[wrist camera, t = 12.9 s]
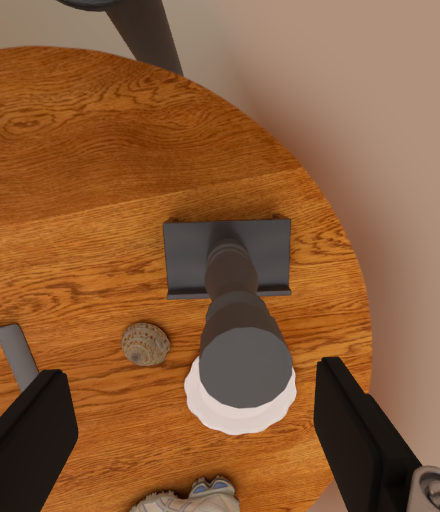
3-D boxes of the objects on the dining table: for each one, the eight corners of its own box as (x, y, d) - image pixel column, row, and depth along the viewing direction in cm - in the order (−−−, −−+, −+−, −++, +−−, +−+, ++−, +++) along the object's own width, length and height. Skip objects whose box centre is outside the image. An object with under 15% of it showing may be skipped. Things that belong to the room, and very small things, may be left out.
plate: (170, 408, 56) (168, 415, 54) (211, 319, 51) (210, 323, 50) (265, 440, 58) (266, 447, 57) (312, 358, 54) (315, 363, 52)
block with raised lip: (170, 217, 46) (160, 224, 38) (279, 213, 47) (293, 220, 38) (174, 280, 49) (166, 300, 41) (278, 276, 49) (291, 296, 41)
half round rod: (33, 413, 56) (27, 420, 54) (-5, 325, 51) (-13, 330, 49) (54, 409, 56) (49, 417, 54) (18, 321, 51) (11, 325, 49)
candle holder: (203, 276, 42) (188, 406, 18) (209, 235, 40) (200, 316, 16) (245, 281, 42) (286, 417, 18) (252, 240, 41) (307, 329, 16)
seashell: (173, 366, 51) (127, 380, 48) (166, 350, 56) (124, 362, 53) (169, 325, 49) (121, 337, 46) (162, 312, 54) (117, 322, 51)
